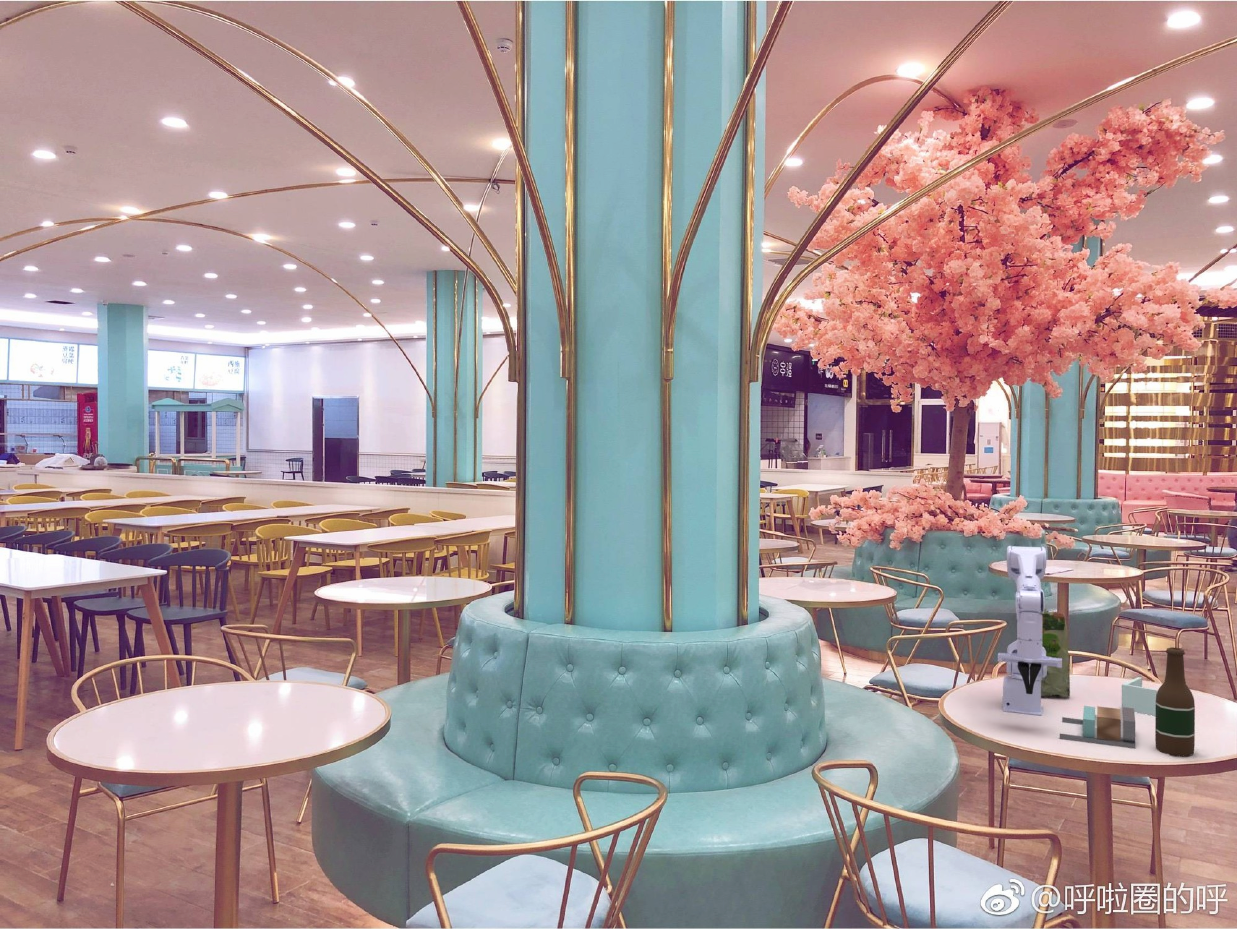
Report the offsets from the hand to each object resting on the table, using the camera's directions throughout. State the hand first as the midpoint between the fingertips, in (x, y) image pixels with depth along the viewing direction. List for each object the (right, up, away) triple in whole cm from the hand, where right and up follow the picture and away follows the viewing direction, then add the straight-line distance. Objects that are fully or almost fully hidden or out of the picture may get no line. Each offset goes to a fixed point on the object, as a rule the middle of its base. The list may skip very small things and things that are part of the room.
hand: (1029, 693), depth 230 cm
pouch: (+20, -9, +34) cm, 40 cm away
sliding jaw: (+14, -9, -3) cm, 17 cm away
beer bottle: (+26, -10, -16) cm, 33 cm away
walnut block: (+17, -10, -4) cm, 20 cm away
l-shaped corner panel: (+42, -10, +18) cm, 47 cm away
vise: (+14, -9, -3) cm, 17 cm away
